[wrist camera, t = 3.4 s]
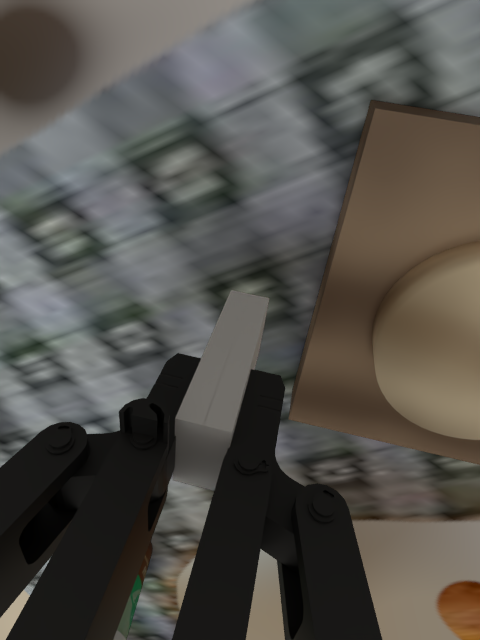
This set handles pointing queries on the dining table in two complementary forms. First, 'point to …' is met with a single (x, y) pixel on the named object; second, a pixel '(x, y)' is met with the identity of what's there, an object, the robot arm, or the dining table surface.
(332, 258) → the board
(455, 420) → the coaster
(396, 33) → the dining table surface
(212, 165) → the dining table surface
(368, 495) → the dining table surface
